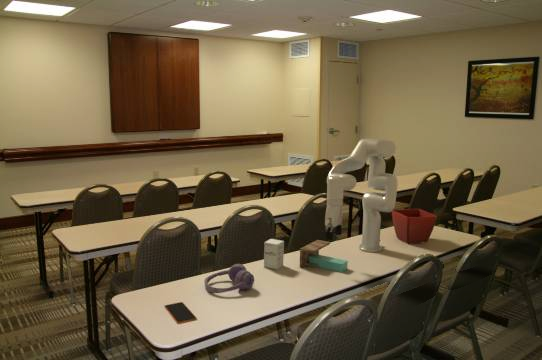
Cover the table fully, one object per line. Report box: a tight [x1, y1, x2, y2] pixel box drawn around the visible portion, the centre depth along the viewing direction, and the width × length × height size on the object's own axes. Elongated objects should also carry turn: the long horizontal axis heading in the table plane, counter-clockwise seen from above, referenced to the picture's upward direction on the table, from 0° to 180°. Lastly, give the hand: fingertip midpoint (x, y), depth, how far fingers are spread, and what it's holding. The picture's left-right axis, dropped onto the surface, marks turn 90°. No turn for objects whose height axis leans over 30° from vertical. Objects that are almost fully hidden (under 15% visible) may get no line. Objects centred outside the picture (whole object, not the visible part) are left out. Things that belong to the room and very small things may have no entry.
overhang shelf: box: [299, 239, 331, 269], centre depth 229 cm, size 18×7×10 cm, turn 147°
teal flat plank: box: [309, 254, 349, 273], centre depth 225 cm, size 6×18×4 cm, turn 57°
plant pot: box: [391, 208, 438, 245], centre depth 271 cm, size 19×19×17 cm
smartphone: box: [163, 301, 198, 325], centre depth 173 cm, size 8×17×1 cm, turn 30°
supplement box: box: [263, 238, 285, 270], centre depth 224 cm, size 7×7×13 cm
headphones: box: [203, 263, 255, 294], centre depth 198 cm, size 18×8×20 cm
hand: (333, 237), depth 222 cm, fingers open, 9 cm apart
